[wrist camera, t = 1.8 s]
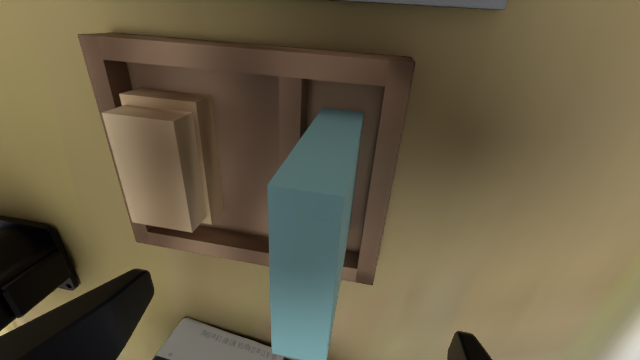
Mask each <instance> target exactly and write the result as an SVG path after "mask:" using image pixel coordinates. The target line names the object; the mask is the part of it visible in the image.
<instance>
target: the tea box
mask: <svg viewBox="0 0 640 360" xmlns="http://www.w3.org/2000/svg"><path fill="white" fill-rule="evenodd" d="M152 360H300V359H296V358H291V357H287V356H282V355H278V354H273V353H272V347H269V346H266V345H263V344H261V343H258V342H256V341H253V340H250V339H247V338H244V337H241V336H238V335H235V334H232V333H229V332H226V331H224V330H221V329H218V328H215V327H212V326H209V325H207V324H204V323H201V322H199V321H196V320H193V319H190V318H187V317H186V318H183V319H182V320H181V321H180V323H179V324H178V325H177V327H176V328H175V329H174V330H173V332H172V333H171V334H170V336H169V337H168V338H167V340H166V341H165V342H164V344H163V345H162V347H161V348H160V349H159V351H158V352H157V353H156V355H155V357H154V358H153V359H152Z"/></svg>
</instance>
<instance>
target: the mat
mask: <svg viewBox="0 0 640 360" xmlns="http://www.w3.org/2000/svg"><path fill="white" fill-rule="evenodd" d="M337 1H354V2H371V3H388V4H405V5H422V6H439V7H456V8H474V9H491V10H503V9H505V6H506V3H507V0H337Z"/></svg>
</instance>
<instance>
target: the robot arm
mask: <svg viewBox="0 0 640 360" xmlns="http://www.w3.org/2000/svg"><path fill="white" fill-rule="evenodd" d="M78 286H79V284H78V282H77V279H76V277H75V275H74V272H73V270H72V268H71V265H70V263H69V261H68V258H67V256H66V254H65V251H64V249H63V247H62V244H61V242H60V240H59V237H58V235H57V233H56V231H55V229H54V228H53V227H51V226H49V225H45V224H40V223H34V222H29V221H23V220H18V219H12V218H7V217H2V216H0V331H1V330H2V329H3V328H5V327H6V326H7V325H8V324H10V323H11V322H12V321H13V320H15V319H16V318H20V317H22V316H24V315H25V314H26V313H27V312H28V311H30V310H31V309H32V308H33V307H35V306H36V305H37V304H38V303H39V302H41V301H42V300H43V299H44V298H46V297H47V296H48V295H49V294H50V293H52V292H53V291H54V290H55V289H57V288H62V289H67V290H75V289H76V288H77V287H78ZM153 295H154V286H153V283H152V279H151V275H150V273H149V271H147V270H142V269H133V270H130V271H128V272H126V273H124V274H123V275H121V276H119V277H117V278H115V279H113V280H111V281H109V282H107V283H105V284H103V285H101V286H99V287H97V288H95V289H93V290H91V291H89V292H87V293H85V294H83V295H81V296H79V297H77V298H75V299H73V300H71V301H69V302H67V303H65V304H63V305H61V306H59V307H57V308H55V309H53V310H51V311H49V312H47V313H45V314H43V315H41V316H39V317H37V318H35V319H33V320H32V321H30V322H28V323H26V324H24V325H22V326H20V327H18V328H16V329H14V330H12V331H10V332H8V333H6V334H4V335H2V336H0V360H116V359H117V357H118V356H119V354H120V353H121V351H122V350H123V348H124V347H125V345H126V343H127V342H128V340H129V338H130V337H131V335H132V333H133V331H134V330H135V328H136V326H137V324H138V322H139V321H140V319H141V317H142V315H143V314H144V312H145V310H146V308H147V306H148V305H149V303H150V301H151V299H152V297H153ZM447 359H448V360H492V359H491V357H490V356H489V355H488V353H487V352H486V350H485V349H484V348H483V346H482V345H481V344H480V342H479V341H478V340H477V338H476V337H475V336H474V335H473V334H471V333H467V332H462V331H457V332H456V333H455V334H454V337H453V339H452V342H451V344H450V346H449V349H448V355H447Z"/></svg>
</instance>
